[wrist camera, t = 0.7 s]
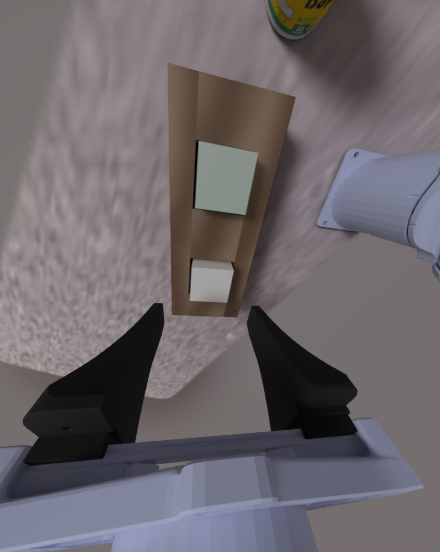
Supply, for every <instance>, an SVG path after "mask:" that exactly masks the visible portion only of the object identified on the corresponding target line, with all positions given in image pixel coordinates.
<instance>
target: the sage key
mask: <svg viewBox="0 0 440 552" xmlns="http://www.w3.org/2000/svg"><path fill="white" fill-rule="evenodd" d="M257 157H258V153H257V152H252V151H247V150H242V149H237V148H232V147H227V146H222V145H217V144H212V143H207V142H202V141H199V147H198V165H197V183H196V201H195V208H198V209H205V210H213V211H220V212H227V213H234V214H242V215H245V214H246V210H247V205H248V200H249V195H250V190H251V186H252V181H253V176H254V171H255V166H256V162H257Z"/></svg>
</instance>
